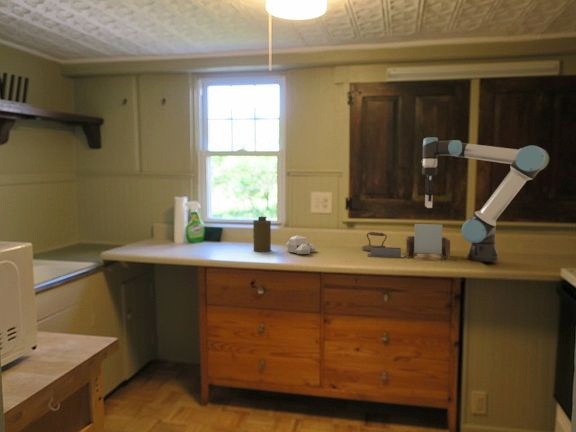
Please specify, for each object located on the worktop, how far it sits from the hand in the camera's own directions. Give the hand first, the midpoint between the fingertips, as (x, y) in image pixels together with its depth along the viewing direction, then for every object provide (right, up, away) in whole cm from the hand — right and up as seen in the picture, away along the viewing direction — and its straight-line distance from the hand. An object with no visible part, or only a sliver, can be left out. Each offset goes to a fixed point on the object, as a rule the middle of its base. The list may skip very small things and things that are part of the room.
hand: (428, 207), depth 247 cm
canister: (-90, -25, +28) cm, 98 cm away
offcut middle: (-2, -27, -3) cm, 28 cm away
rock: (-68, -26, +21) cm, 76 cm away
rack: (+1, -27, +6) cm, 28 cm away
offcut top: (-1, -26, -3) cm, 26 cm away
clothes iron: (-28, -27, +25) cm, 46 cm away
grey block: (-21, -27, +7) cm, 35 cm away
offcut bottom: (-1, -29, -3) cm, 29 cm away
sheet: (0, -27, +2) cm, 27 cm away
